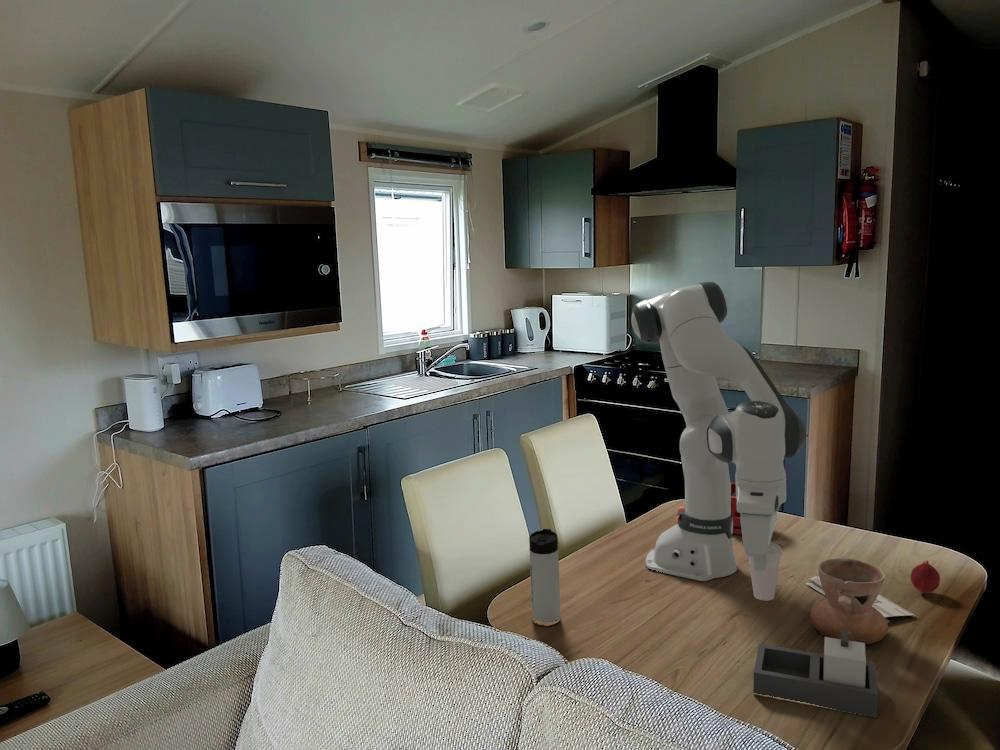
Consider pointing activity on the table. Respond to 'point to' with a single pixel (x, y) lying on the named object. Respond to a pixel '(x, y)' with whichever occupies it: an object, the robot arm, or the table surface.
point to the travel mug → (544, 575)
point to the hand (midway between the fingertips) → (762, 561)
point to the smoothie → (766, 574)
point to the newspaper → (880, 604)
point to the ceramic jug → (850, 601)
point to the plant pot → (735, 512)
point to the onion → (925, 577)
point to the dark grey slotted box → (820, 676)
